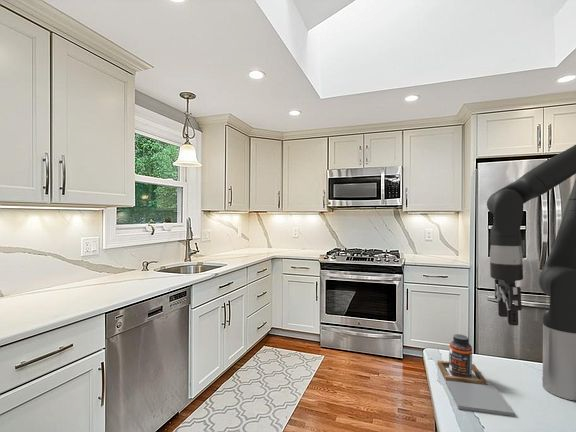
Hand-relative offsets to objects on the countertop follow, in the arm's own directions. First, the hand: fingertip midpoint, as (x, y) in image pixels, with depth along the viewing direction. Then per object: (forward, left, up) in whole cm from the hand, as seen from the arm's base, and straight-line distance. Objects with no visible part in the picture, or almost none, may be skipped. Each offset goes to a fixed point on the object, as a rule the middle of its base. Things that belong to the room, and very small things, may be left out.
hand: (507, 320), depth 88 cm
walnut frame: (+11, -4, -18) cm, 22 cm away
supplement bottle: (+11, -4, -18) cm, 22 cm away
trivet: (+10, +9, -18) cm, 23 cm away
